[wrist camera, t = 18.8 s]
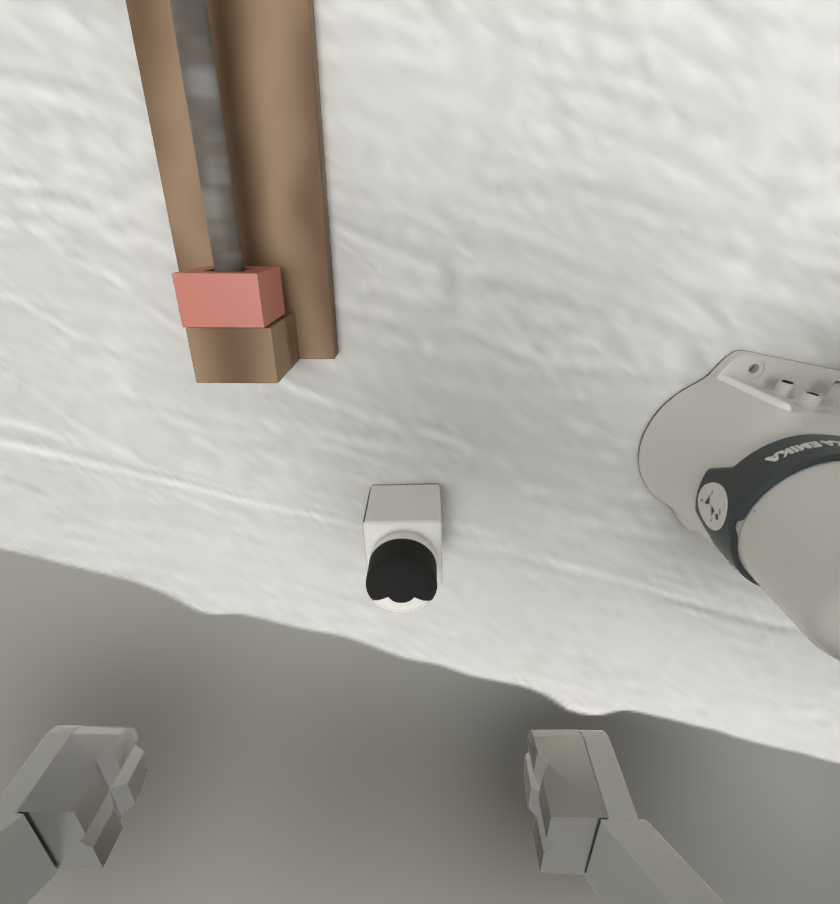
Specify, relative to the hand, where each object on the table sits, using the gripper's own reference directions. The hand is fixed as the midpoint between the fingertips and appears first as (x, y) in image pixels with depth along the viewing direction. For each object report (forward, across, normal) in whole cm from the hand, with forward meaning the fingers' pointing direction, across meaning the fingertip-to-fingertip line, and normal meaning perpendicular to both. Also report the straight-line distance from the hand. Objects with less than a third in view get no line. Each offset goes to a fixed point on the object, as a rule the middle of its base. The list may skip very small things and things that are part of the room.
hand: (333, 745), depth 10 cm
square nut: (+33, -12, +5) cm, 35 cm away
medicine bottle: (+37, 0, -18) cm, 41 cm away
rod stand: (+37, -12, +14) cm, 41 cm away
